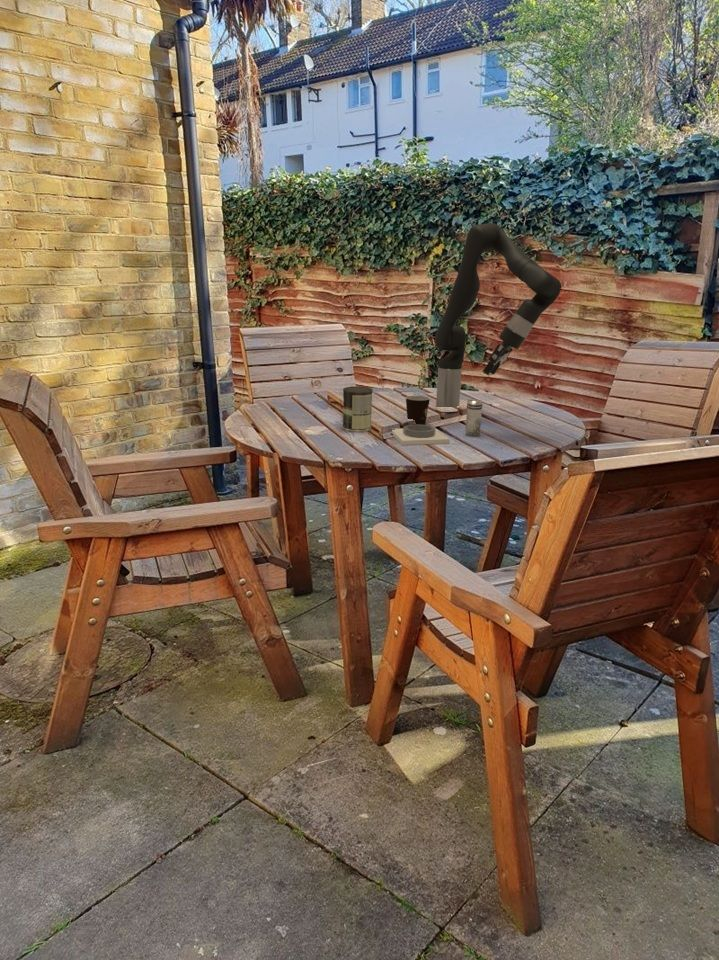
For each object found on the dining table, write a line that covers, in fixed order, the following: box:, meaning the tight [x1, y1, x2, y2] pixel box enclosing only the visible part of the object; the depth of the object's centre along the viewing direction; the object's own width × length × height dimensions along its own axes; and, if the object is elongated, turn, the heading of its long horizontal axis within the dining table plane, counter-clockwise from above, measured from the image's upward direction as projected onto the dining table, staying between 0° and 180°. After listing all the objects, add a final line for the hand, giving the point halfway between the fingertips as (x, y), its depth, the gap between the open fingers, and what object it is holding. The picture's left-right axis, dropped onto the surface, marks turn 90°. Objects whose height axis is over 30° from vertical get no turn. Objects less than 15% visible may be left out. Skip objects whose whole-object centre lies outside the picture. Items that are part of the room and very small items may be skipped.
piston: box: [464, 398, 484, 438], centre depth 232 cm, size 5×5×12 cm
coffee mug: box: [405, 395, 431, 425], centre depth 246 cm, size 12×9×10 cm
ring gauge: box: [392, 424, 451, 446], centre depth 228 cm, size 16×16×4 cm
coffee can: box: [342, 386, 374, 433], centre depth 237 cm, size 10×10×14 cm
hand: (488, 373), depth 225 cm, fingers open, 8 cm apart
